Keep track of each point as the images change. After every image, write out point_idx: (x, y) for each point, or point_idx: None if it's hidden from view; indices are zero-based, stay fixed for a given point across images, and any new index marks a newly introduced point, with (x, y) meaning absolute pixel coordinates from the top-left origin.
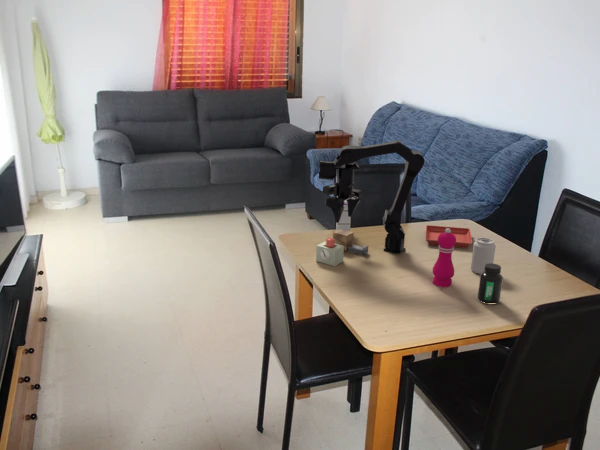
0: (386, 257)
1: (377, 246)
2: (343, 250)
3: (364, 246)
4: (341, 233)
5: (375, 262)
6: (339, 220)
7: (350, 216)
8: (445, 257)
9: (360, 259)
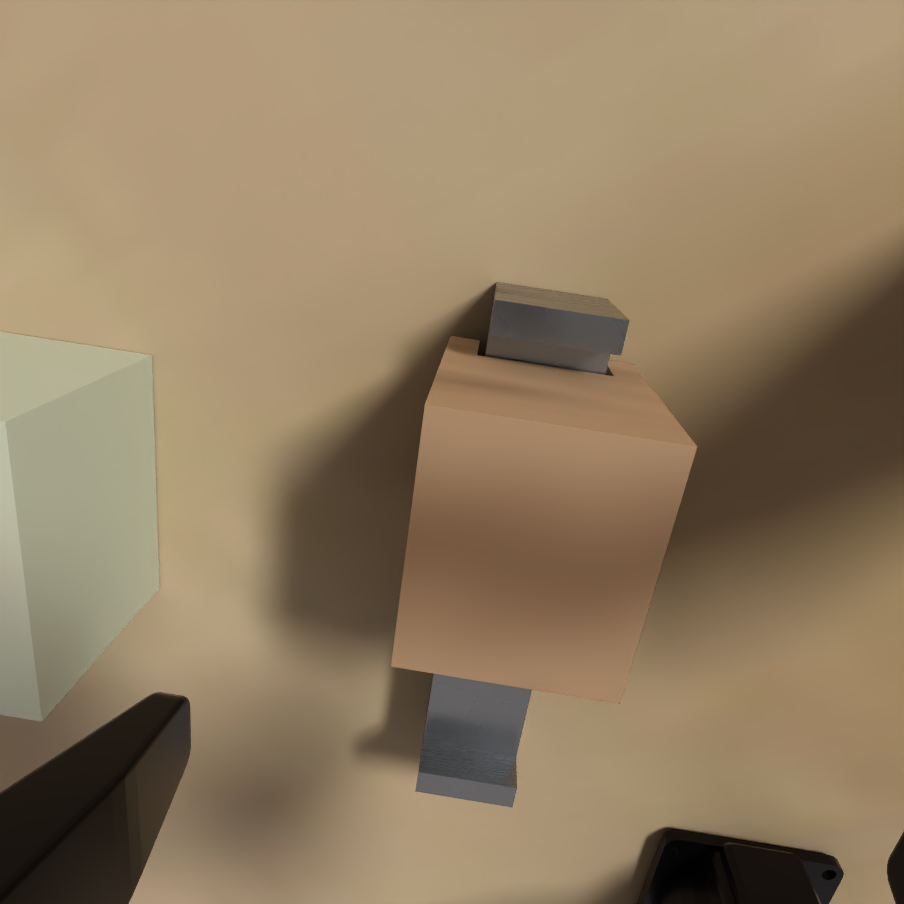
0: (500, 875)
1: (771, 754)
2: (81, 672)
3: (457, 781)
4: (451, 559)
5: (328, 829)
6: (148, 840)
7: (892, 877)
8: None
9: (313, 711)
